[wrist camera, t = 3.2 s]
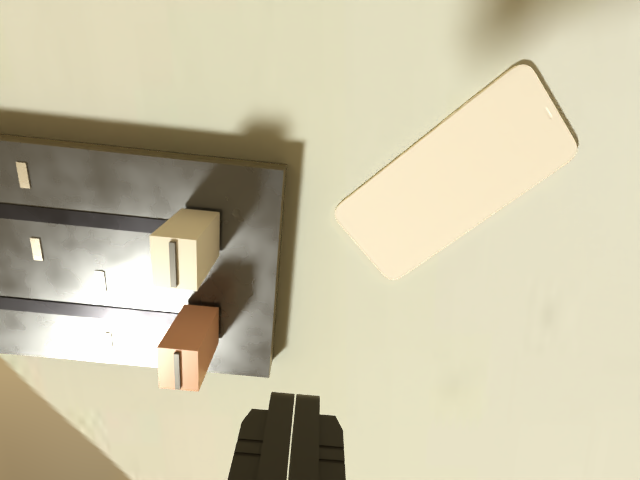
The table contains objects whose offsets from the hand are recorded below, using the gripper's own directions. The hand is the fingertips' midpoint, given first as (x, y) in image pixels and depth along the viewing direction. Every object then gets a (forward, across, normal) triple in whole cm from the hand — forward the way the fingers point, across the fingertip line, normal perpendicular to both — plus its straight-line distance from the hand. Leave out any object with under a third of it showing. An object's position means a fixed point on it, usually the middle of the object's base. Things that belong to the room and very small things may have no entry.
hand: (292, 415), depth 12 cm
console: (+16, +14, +3) cm, 22 cm away
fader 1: (+14, +7, 0) cm, 16 cm away
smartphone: (+17, -9, -4) cm, 20 cm away
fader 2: (+14, +7, +7) cm, 17 cm away
